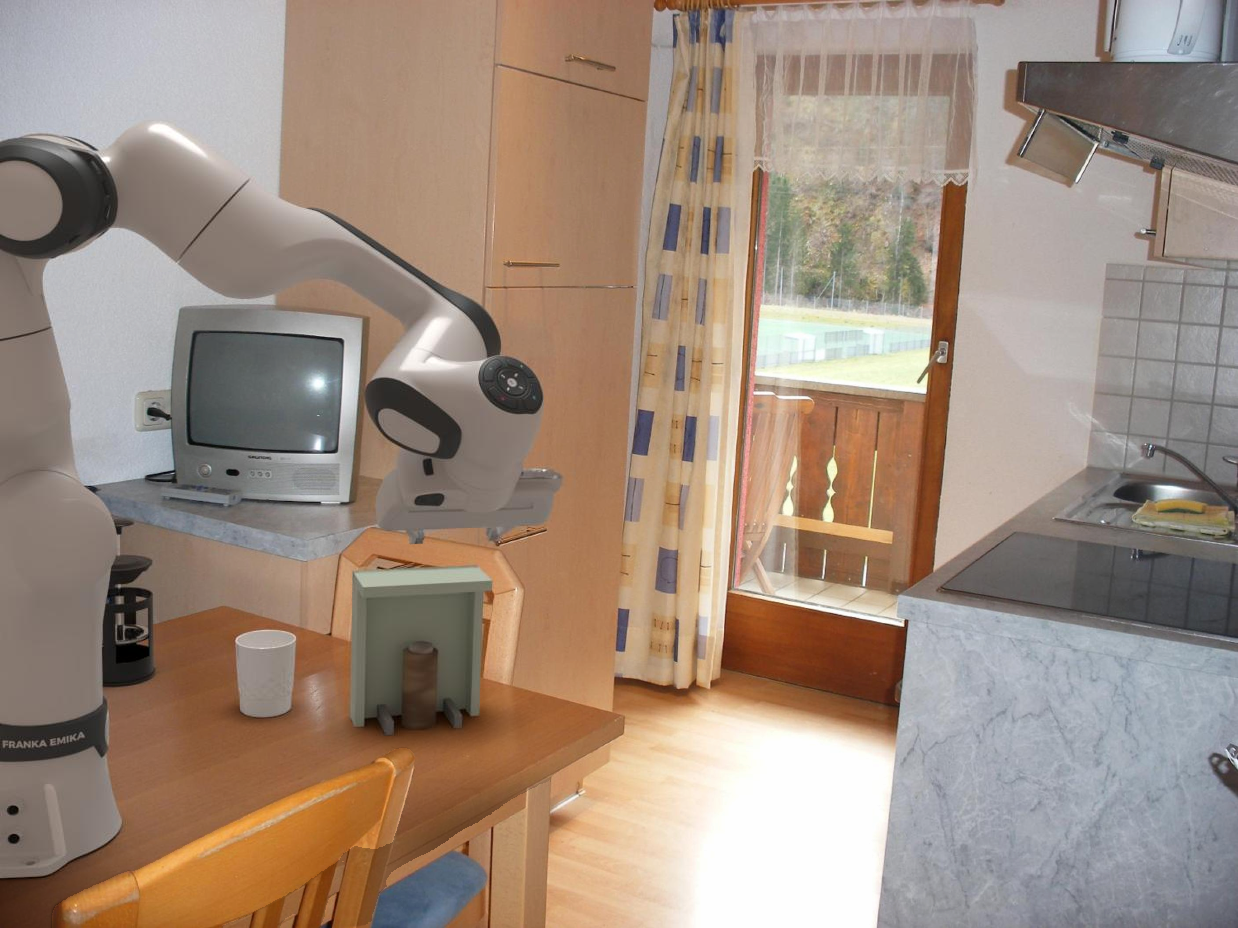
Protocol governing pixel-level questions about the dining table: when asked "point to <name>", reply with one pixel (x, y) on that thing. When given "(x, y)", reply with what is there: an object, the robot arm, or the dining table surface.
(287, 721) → the dining table surface
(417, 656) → the pepper mill
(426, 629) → the shelf
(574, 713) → the dining table surface
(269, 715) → the white cup
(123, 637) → the french press
